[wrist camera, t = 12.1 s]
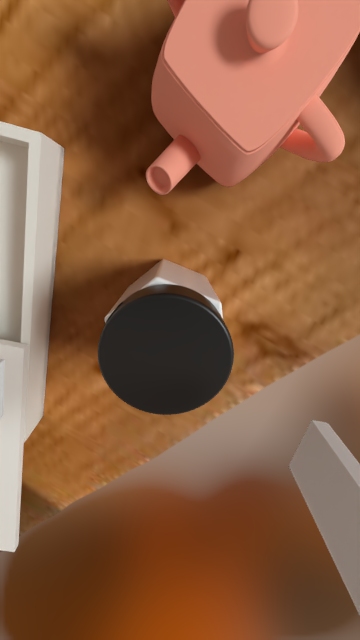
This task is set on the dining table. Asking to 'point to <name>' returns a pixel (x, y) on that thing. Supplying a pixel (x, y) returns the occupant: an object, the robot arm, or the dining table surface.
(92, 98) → the dining table surface
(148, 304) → the jar
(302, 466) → the robot arm
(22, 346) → the lid
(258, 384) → the dining table surface
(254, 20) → the teapot
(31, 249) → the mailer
